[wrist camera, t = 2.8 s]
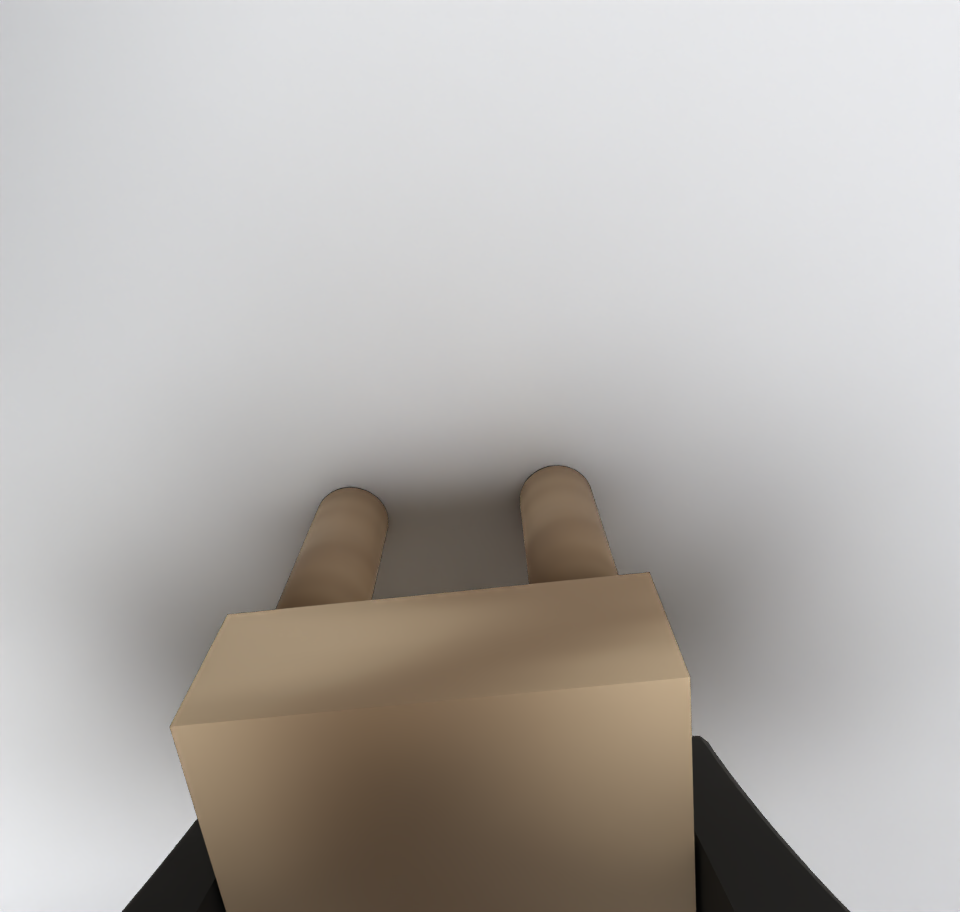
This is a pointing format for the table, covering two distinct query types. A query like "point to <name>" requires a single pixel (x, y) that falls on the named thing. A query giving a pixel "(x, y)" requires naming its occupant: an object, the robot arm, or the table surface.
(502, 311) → the table surface
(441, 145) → the table surface
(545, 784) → the oak stool
